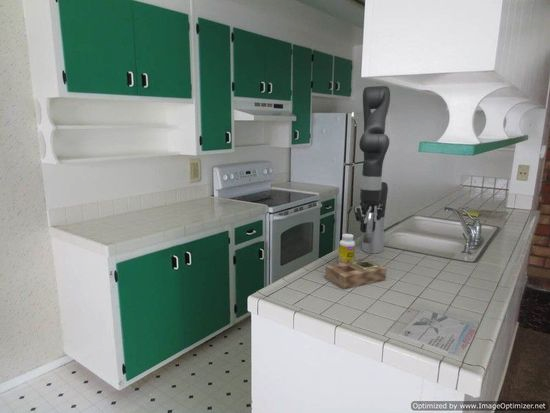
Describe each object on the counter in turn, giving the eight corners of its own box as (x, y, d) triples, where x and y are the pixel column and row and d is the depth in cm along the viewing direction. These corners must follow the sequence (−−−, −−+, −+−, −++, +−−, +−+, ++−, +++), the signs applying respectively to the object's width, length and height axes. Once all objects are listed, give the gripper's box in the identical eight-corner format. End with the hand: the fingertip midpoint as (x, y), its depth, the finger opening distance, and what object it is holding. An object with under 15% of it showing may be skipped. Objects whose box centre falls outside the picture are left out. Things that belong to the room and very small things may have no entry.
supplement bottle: (346, 267, 166) (348, 238, 163) (334, 262, 171) (336, 234, 168) (357, 264, 170) (359, 235, 167) (345, 260, 175) (347, 232, 172)
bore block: (365, 269, 164) (366, 257, 163) (385, 280, 154) (386, 267, 153) (325, 277, 155) (325, 265, 154) (343, 289, 145) (344, 275, 144)
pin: (367, 240, 156) (369, 210, 153) (373, 242, 153) (376, 212, 150) (360, 241, 154) (362, 211, 151) (366, 243, 151) (368, 213, 148)
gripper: (378, 185, 155) (375, 227, 159) (349, 187, 149) (346, 231, 153) (392, 188, 149) (388, 232, 152) (362, 190, 142) (359, 236, 146)
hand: (367, 231), depth 152 cm, fingers closed on pin, 3 cm apart
